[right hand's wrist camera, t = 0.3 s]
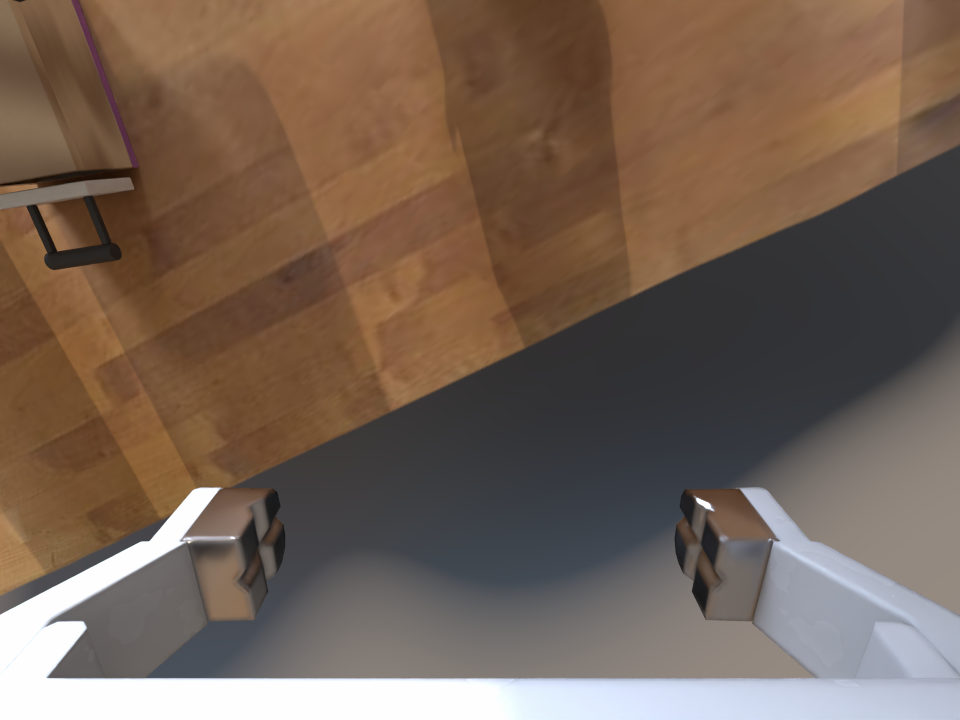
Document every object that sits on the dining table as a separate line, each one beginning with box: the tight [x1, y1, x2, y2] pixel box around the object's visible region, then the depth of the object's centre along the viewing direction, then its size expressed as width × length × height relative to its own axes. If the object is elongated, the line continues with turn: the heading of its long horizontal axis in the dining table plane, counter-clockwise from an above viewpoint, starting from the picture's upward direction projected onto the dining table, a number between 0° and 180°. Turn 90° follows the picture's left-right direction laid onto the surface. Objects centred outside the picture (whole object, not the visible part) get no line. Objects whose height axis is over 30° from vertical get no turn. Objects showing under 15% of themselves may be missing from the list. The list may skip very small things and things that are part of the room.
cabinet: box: [0, 0, 139, 187], centre depth 46 cm, size 17×11×9 cm, turn 8°
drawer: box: [0, 177, 134, 270], centre depth 48 cm, size 22×10×7 cm, turn 9°
